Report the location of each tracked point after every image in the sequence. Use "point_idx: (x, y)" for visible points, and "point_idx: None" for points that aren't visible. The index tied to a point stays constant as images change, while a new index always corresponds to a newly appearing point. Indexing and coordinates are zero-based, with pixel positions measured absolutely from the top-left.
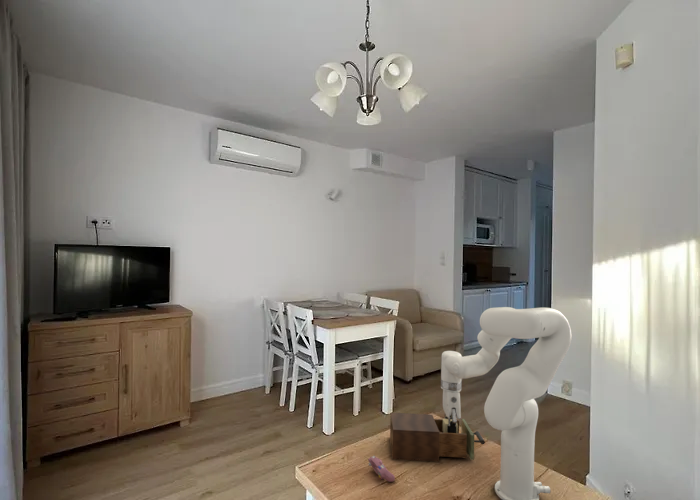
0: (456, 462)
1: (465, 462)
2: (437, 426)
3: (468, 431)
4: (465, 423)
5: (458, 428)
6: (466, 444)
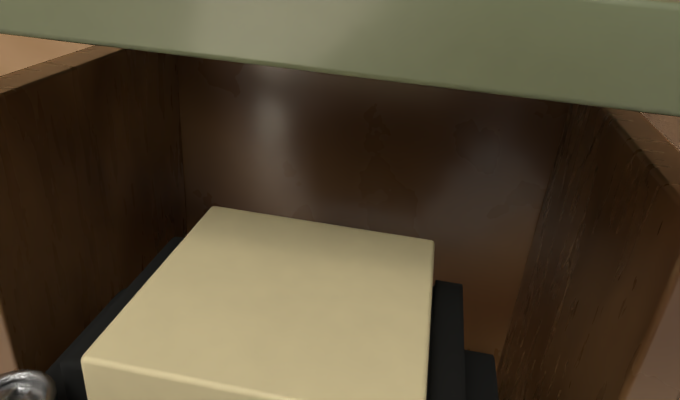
0: None
1: None
2: None
3: (568, 100)
4: (82, 6)
5: (72, 76)
6: (661, 137)
